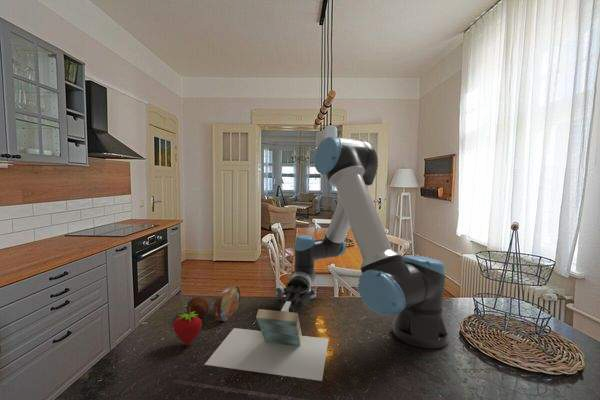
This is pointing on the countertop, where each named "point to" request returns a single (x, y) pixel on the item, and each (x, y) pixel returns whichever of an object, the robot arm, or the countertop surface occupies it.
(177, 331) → the strawberry
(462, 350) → the countertop surface
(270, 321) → the board
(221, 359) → the mat
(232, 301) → the tin
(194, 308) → the potato
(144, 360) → the countertop surface
